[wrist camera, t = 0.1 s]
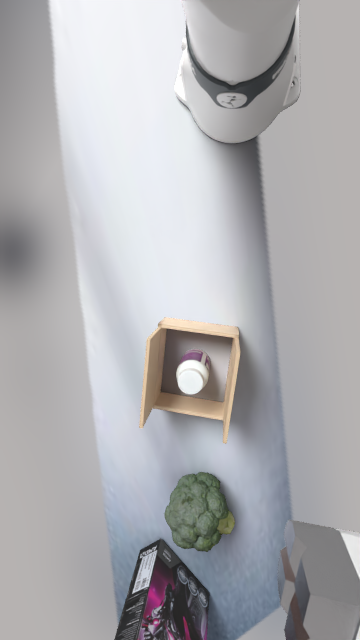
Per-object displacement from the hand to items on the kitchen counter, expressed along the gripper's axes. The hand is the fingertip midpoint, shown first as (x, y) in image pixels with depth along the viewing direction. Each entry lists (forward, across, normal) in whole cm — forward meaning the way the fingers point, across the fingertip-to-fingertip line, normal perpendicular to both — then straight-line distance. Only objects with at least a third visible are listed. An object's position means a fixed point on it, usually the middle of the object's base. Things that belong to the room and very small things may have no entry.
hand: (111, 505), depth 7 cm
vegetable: (+48, -4, +40) cm, 63 cm away
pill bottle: (+48, +1, +13) cm, 50 cm away
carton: (+48, +1, +13) cm, 50 cm away
